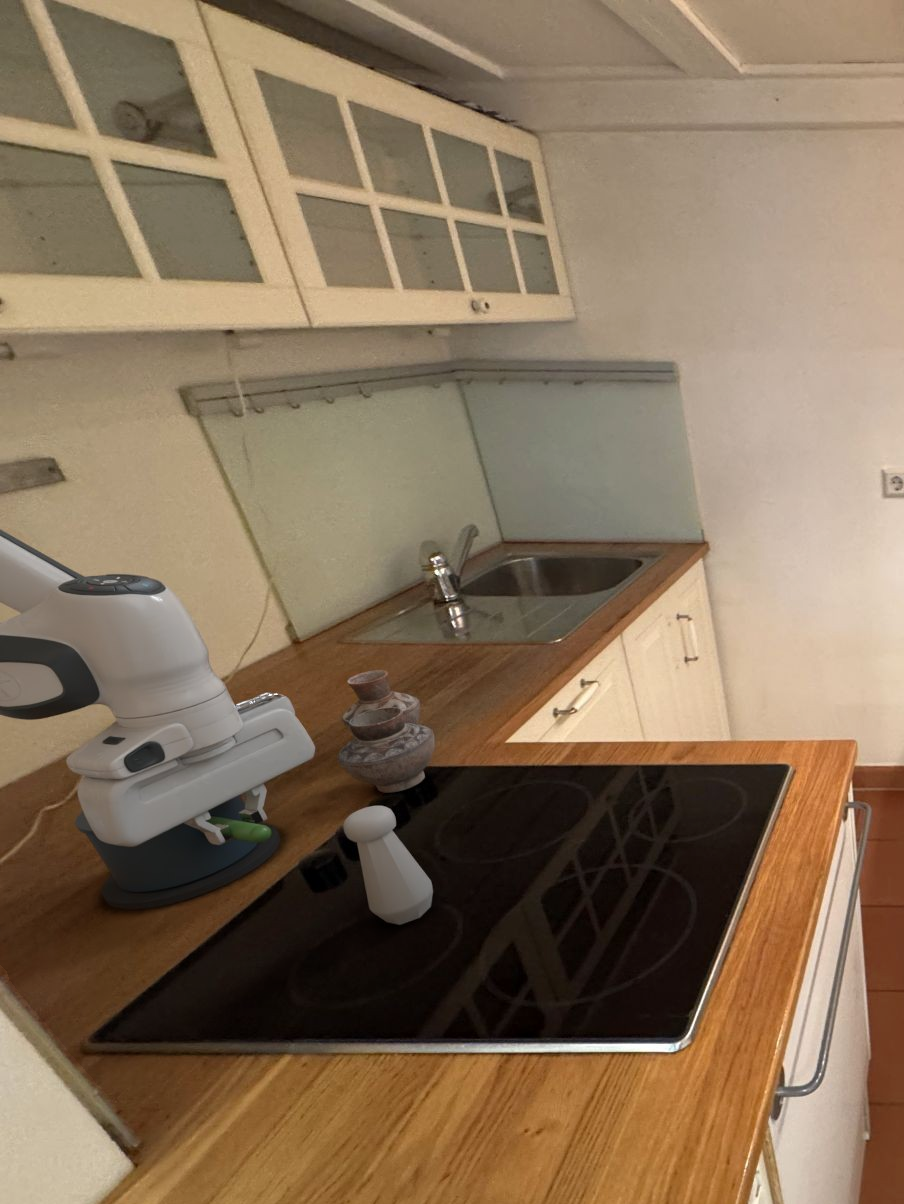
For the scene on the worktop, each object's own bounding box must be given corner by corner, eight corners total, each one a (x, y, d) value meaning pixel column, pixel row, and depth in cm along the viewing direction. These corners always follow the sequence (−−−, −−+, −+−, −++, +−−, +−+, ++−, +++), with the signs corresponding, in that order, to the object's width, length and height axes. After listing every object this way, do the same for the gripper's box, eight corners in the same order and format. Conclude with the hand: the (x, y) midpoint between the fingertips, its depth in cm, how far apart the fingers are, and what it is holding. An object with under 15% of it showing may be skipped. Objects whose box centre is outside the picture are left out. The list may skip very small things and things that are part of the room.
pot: (84, 884, 89) (36, 811, 84) (214, 819, 101) (178, 752, 96) (222, 914, 83) (178, 838, 79) (343, 841, 95) (310, 771, 91)
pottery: (432, 724, 127) (407, 658, 122) (452, 784, 109) (424, 709, 104) (349, 746, 121) (319, 677, 116) (356, 814, 103) (320, 735, 98)
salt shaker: (441, 915, 84) (399, 816, 78) (378, 938, 81) (330, 836, 75) (437, 888, 88) (397, 792, 82) (377, 908, 85) (331, 810, 79)
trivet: (94, 930, 83) (89, 923, 83) (115, 862, 95) (111, 855, 94) (281, 869, 92) (277, 862, 92) (280, 813, 104) (277, 807, 103)
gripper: (262, 684, 92) (307, 782, 98) (43, 768, 74) (115, 883, 80) (303, 687, 90) (346, 787, 96) (89, 774, 73) (159, 890, 78)
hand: (240, 831), depth 88 cm, fingers closed on pot, 2 cm apart
